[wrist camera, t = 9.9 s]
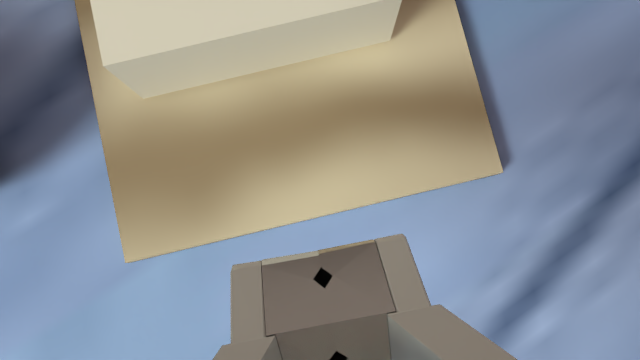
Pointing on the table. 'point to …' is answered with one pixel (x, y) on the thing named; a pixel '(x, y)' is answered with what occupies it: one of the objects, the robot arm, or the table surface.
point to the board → (293, 136)
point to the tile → (228, 37)
